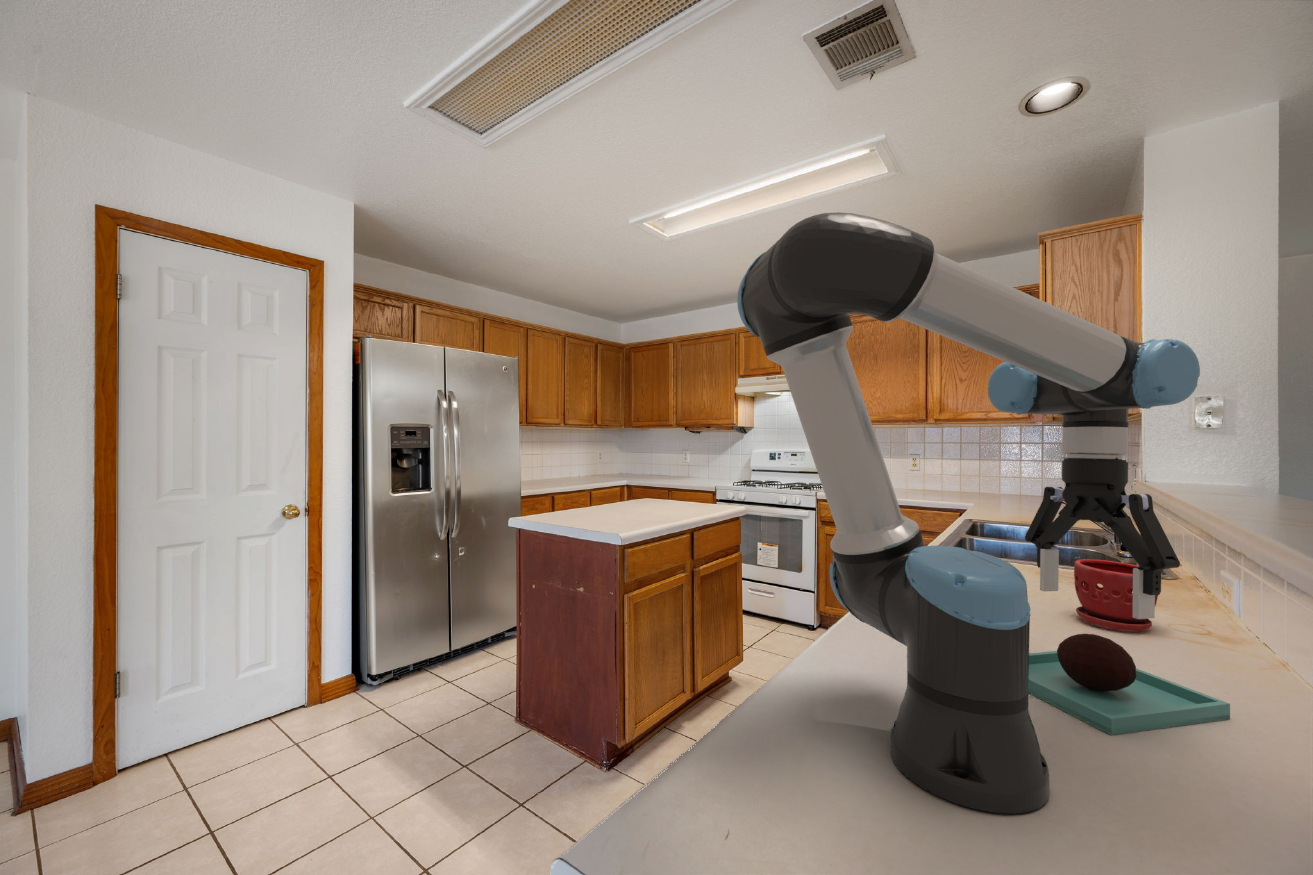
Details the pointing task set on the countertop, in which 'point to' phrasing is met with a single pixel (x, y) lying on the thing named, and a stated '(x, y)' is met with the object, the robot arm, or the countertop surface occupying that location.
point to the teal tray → (1122, 700)
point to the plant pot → (1107, 595)
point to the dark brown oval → (1096, 662)
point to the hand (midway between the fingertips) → (1092, 603)
